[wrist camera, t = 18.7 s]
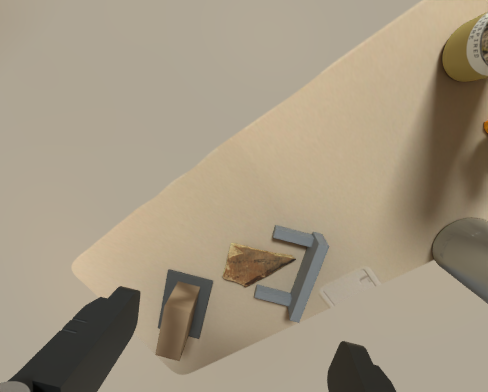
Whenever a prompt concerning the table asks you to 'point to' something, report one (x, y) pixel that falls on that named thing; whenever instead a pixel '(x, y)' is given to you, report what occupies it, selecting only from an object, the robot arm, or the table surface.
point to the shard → (252, 264)
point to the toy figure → (486, 126)
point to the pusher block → (177, 320)
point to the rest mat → (201, 301)
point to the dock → (305, 274)
